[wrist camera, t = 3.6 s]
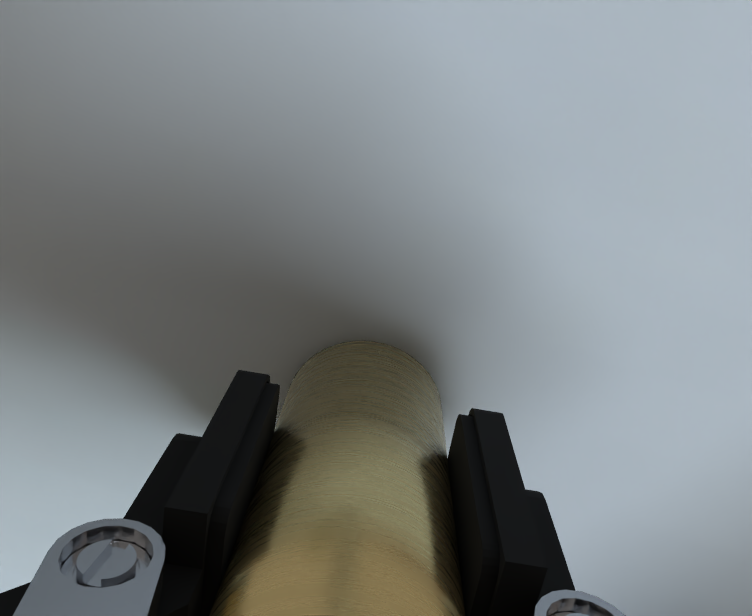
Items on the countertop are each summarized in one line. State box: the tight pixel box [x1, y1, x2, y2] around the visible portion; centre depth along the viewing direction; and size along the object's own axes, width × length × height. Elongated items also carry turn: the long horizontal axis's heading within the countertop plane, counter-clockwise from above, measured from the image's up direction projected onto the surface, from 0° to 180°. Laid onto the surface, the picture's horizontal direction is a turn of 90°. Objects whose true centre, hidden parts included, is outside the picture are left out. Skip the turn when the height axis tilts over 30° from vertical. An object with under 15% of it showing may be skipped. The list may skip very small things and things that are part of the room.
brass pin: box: [209, 341, 465, 616], centre depth 10 cm, size 3×3×8 cm
